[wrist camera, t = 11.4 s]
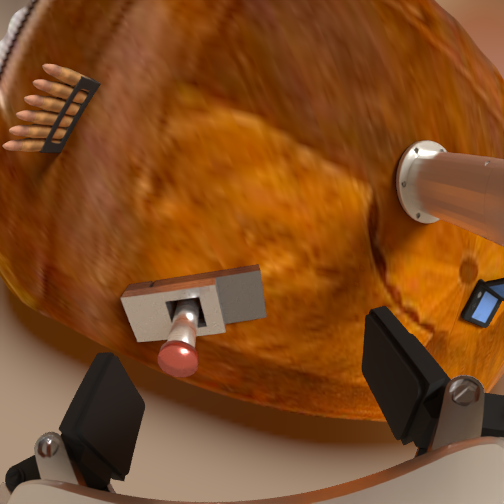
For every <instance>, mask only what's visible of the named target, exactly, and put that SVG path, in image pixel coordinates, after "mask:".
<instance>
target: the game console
mask: <svg viewBox="0 0 504 504" xmlns="http://www.w3.org/2000/svg"><path fill="white" fill-rule="evenodd" d="M478 282H479V283H478V284H477V286H476V288H475V290H474V292H473V294H472V296H471V298H470V299H469V301H468V303H467V305H466V307H465V308H464V310H463V312H462V318H463V319H464V320H466V321H469V322H471V323H474V324H476V325H479V326H481V327H484V328H487V327H488V326H489V324H490V322H491V321H492V319H493V317H494V315H495V313H496V312H497V310H498V308H499V306H500V304H501V302H502V301H504V278H501V279H496V280H491V281H486V282H484V281H483V280H482V279H480V280H479V281H478Z"/></svg>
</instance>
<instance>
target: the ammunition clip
mask: <svg viewBox="0 0 504 504" xmlns="http://www.w3.org/2000/svg"><path fill="white" fill-rule="evenodd" d="M42 67H43V69H44V70H45V72H47V73H48V74H49V75H51V76H54V77H55V78H57V79H58V80H60V81H61V82H64V83H66V84H63V83H60V82H52V81H48V80H35V81H33V85H34V86H35V87H36V88H38V89H40V90H42V91H45V92H47V93H49V94H51V95H53V96H56V97H57V98H55V97H51V96H39V95H30V96H26V97H25V98H24V100H25V102H27V103H28V104H30V105H33V106H37V107H40V108H42V109H44V110H39V111H35V110H33V111H32V110H25V111H21V112H18V113H17V114H16V116H17V117H18V118H20V119H22V120H25V121H30V122H34V123H37V124H32V125H19V126H15V127H12V128H11V129H9V132H10V133H12V134H14V135H17V136H26V137H30V138H25V139H20V140H13V141H9V142H7V143H5V144H4V145H3V148H5V149H7V150H12V151H17V150H18V151H25V152H30V151H39V152H41V153H61V151H62V149H63V147H64V145H65V143H66V141H67V139H68V138H69V136H70V134H71V132H72V130H73V128H74V126H75V125H76V123H77V121H78V119H79V118H80V116H81V114H82V113H83V111H84V109H85V108H86V106H87V104H88V103H89V101H90V100H91V98H92V97H93V95H94V93H95V92H96V90H97V89H98V87H99V86H100V83H99V82H97V81H95V80H94V79H92V78H89V77H86V76H84V75H81V74H79V73H77V72H75V71H73V70H71V69H69V68H63V67H60V66H57V65H54V64H45V65H43V66H42ZM71 86H74V87H75V88H74V87H71ZM62 98H63V99H66V100H67V101H66V100H63V99H62ZM45 110H48V111H45ZM57 112H58V113H57Z"/></svg>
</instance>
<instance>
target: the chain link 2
mask: <svg viewBox="0 0 504 504" xmlns="http://www.w3.org/2000/svg"><path fill="white" fill-rule="evenodd" d="M209 278H216V282H217V287H218V292H219V296H220V301H221V305H222V310H223V314H224V319H225V323H226V324H227V323H234V322H241V321H247V320H253V319H259V318H265V317H266V309H265V302H264V295H263V287H262V280H261V273H260V268H259V265H258V264H257V265H251V266H245V267H239V268H233V269H227V270H220V271H214V272H208V273H201V274H195V275H189V276H182V277H176V278H169V279H163V280H156V281H155V283H154V285H153V287H156V286H163V285H170V284H177V283H183V282H190V281H197V280H203V279H209ZM170 304H171V307H172V310H173V313H174V314H175V311H176V305H175V302H174V301H170ZM198 319H205V317H204V313H203V311H202V312H199V317H198Z"/></svg>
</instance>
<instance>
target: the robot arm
mask: <svg viewBox="0 0 504 504" xmlns="http://www.w3.org/2000/svg"><path fill="white" fill-rule="evenodd" d="M396 188H397V194H398V198H399V201H400V203H401V205H402V207H403V209H404V211H405V212H406V213H407V214H408V215H409V216H410V217H411V218H412V219H414V220H416V221H418V222H421V223H427V224H428V223H433V222H436V221H438V220H439V219H442V220H444V221H447V222H449V223H451V224H454V225H456V226H459V227H461V228H463V229H466V230H468V231H470V232H473V233H475V234H477V235H479V236H482V237H484V238H486V239H488V240H490V241H493V242H495V243H497V244H499V245H501V246H504V159H497V158H491V157H484V156H476V155H468V154H459V153H449V152H447V151H446V150H445V149H444V148H443V147H442V146H441V145H440V144H438V143H436V142H433V141H419V142H416V143H414V144H412V145H411V146H410V147H409V148H407V150H406V151H405V152H404V154H403V155H402V157H401V160H400V162H399V165H398V169H397V175H396ZM362 373H363V375H364V377H365V379H366V381H367V383H368V385H369V387H370V389H371V391H372V393H373V395H374V397H375V399H376V401H377V403H378V404H379V406H380V408H381V410H382V412H383V414H384V416H385V418H386V420H387V422H388V424H389V426H390V428H391V430H392V432H393V435H394V437H395V438H396V439H397V440H400V439H401V441H402V443H403V445H406V444H408V443H410V442H412V441H413V442H414V443H415V445H416V447H417V450H416V453H415V456H414V458H413V459H411V460H408V461H406V462H404V463H401V464H399V465H396V466H394V467H391V468H389V469H386V470H383V471H381V472H378V473H375V474H372V475H369V476H366V477H363V478H360V479H357V480H354V481H350V482H347V483H343V484H340V485H336V486H332V487H328V488H325V489H320V490H316V491H311V492H307V493H301V494H296V495H290V496H284V497H277V498H270V499H262V500H252V501H238V502H209V503H208V502H179V501H165V500H155V499H147V498H139V497H132V496H127V495H121V494H116V492H115V491H114V489H113V487H112V485H111V484H110V479H111V478H112V479H114V480H120V481H124V479H125V475H127V474H128V473H129V470H130V465H131V461H132V457H133V452H134V449H135V444H136V440H137V436H138V432H139V429H140V425H141V421H142V417H143V414H144V410H145V403H144V401H143V399H142V397H141V396H140V394H139V393H138V391H137V390H136V388H135V386H134V385H133V383H132V381H131V380H130V378H129V376H128V375H127V373H126V371H125V369H124V367H123V366H122V364H121V362H120V360H119V358H118V357H117V356H114V354H113V353H110V352H109V353H98V354H97V355H96V357H95V359H94V361H93V362H92V364H91V366H90V368H89V370H88V371H87V373H86V375H85V377H84V379H83V381H82V383H81V384H80V386H79V388H78V390H77V392H76V394H75V396H74V398H73V400H72V402H71V404H70V406H69V408H68V410H67V412H66V414H65V416H64V418H63V421H62V423H61V425H60V427H59V430H60V431H61V432H62V434H61V436H60V435H59V434H58V433H55V432H48V433H45V434H43V435H42V436H41V437H40V438H39V439H38V440H37V442H36V443H35V447H34V451H35V455H34V456H32V457H30V458H28V459H26V460H24V461H22V462H20V463H18V464H16V465H14V466H12V467H11V468H10V469H9V470H8V471H7V474H6V478H5V482H6V484H5V483H4V482H3V483H2V484H1V485H0V504H504V395H496V394H490V393H484V388H483V386H482V384H481V382H480V381H479V380H478V379H476V378H474V377H472V376H467V375H461V376H457V377H455V378H453V379H452V380H451V379H450V378H449V377H448V376H447V374H446V373H445V372H444V371H443V369H442V368H441V367H440V366H439V364H438V363H437V362H436V361H435V360H434V358H433V357H432V356H431V355H430V353H429V352H428V351H427V350H426V349H425V347H424V346H423V345H422V344H421V343H420V342H419V340H418V339H417V338H416V337H415V336H414V335H413V334H410V333H409V332H408V331H407V329H406V328H405V327H404V326H403V325H402V324H401V323H400V321H399V320H398V319H397V318H396V317H395V316H394V315H393V313H392V312H391V311H390V310H389V309H388V308H387V307H386V306H382V307H378V308H375V309H371V310H370V312H369V314H368V315H366V317H365V333H364V347H363V359H362Z"/></svg>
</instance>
